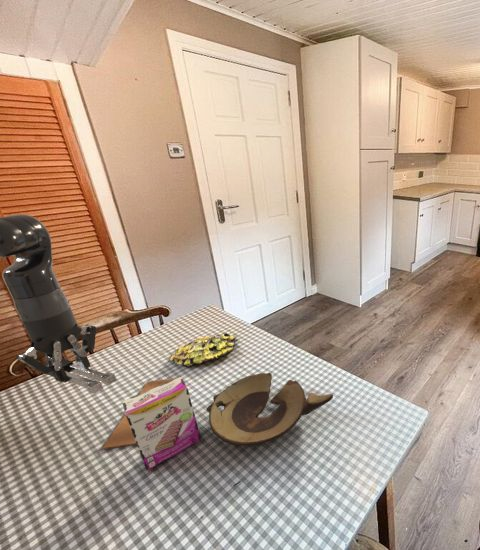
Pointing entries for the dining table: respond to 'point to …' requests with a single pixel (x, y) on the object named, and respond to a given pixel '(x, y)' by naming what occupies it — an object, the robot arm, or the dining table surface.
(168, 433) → the candy bar box
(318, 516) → the dining table surface
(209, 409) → the brown shallow dish
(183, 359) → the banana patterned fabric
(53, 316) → the robot arm
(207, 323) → the dining table surface
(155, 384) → the cork mat
